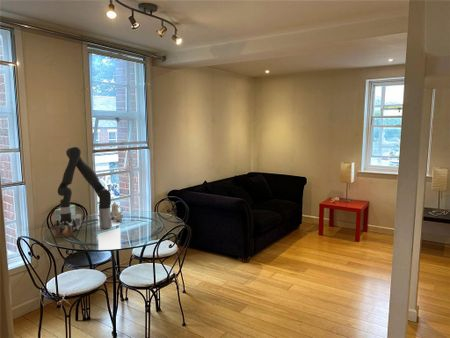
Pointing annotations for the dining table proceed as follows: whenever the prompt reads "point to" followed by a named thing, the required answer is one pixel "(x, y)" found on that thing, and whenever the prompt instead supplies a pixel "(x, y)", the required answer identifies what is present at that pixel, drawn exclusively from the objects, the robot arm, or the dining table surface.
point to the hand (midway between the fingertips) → (66, 232)
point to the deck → (58, 234)
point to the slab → (78, 219)
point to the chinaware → (116, 213)
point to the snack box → (57, 216)
